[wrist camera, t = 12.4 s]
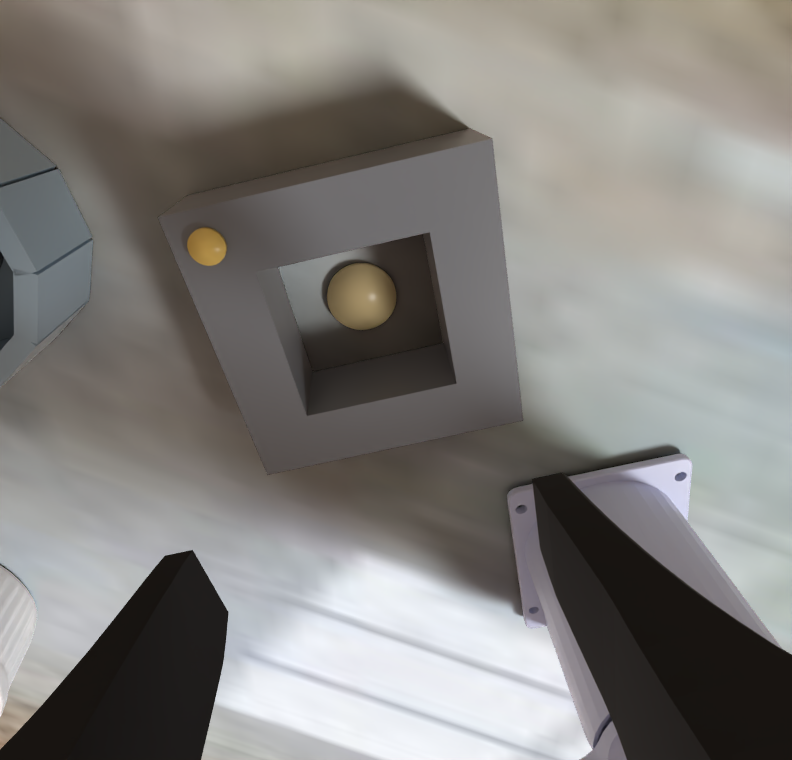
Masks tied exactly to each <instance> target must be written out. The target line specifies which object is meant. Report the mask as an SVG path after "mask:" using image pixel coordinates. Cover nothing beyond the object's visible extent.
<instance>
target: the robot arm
mask: <svg viewBox="0 0 792 760" xmlns="http://www.w3.org/2000/svg"><path fill="white" fill-rule="evenodd" d="M680 472H681V473H680ZM678 473H679V474H678ZM676 474H678V475H676ZM691 475H692V461H691V460H690V459H689V458H688V457H687V456H686V455H685V454H675V455H670V456H665V457H660V458H655V459H650V460H646V461H641V462H636V463H631V464H626V465H621V466H617V467H612V468H607V469H602V470H597V471H593V472H588V473H583V474H578V475H573V476H566V475H565V474H563V473H558V474H554V475H549V476H544V477H539V478H535V479H532V483H533V484H530V485H525V486H520V487H516V488H513V489H512V490H510V491H509V493H508V494H507V502H508V509H509V516H510V523H511V531H512V538H513V545H514V552H515V559H516V566H517V573H518V580H519V587H520V595H521V602H522V609H523V616H524V621H525V624H526V626H528V627H529V628H539V627H544V626H547V628H548V631H549V633H550V636H551V639H552V642H553V645H554V648H555V650H556V653H557V656H558V659H559V662H560V665H561V668H562V670H563V673H564V676H565V679H566V682H567V685H568V688H569V690H570V693H571V696H572V699H573V702H574V705H575V708H576V710H577V713H578V716H579V719H580V722H581V725H582V728H583V730H584V733H585V735H586V738H587V740H588V742H589V744H590V746H591V748H592V749H593V750H592V751H591V752H590V753H589V754H587V755H586V756H585V757H583V758H581V759H580V760H792V655H791V654H790V653H788V652H786V651H785V650H783V649H782V648H781V646H780V645H779V644H778V642H777V641H776V640H775V638H774V637H773V635H772V634H771V633H770V631H769V630H768V629H767V627H766V626H765V625H764V623H763V622H762V621H761V619H760V618H759V617H758V615H757V614H756V613H755V611H754V610H753V609H752V607H751V606H750V605H749V603H748V602H747V601H746V599H745V598H744V597H743V595H742V594H741V593H740V591H739V590H738V589H737V587H736V586H735V585H734V583H733V582H732V581H731V579H730V578H729V577H728V575H727V574H726V573H725V571H724V570H723V569H722V567H721V566H720V565H719V563H718V562H717V560H716V559H715V558H714V556H713V555H712V554H711V552H710V551H709V550H708V548H707V547H706V546H705V544H704V543H703V542H702V540H701V539H700V538H699V536H698V535H697V534H696V532H695V531H694V530H693V528H692V527H691V526H690V524H689V523H688V522H687V520H688V509H689V497H690V486H691ZM520 505H523V506H522V507H520V508H517V506H520ZM227 622H228V611H227V609H226V607H225V606H224V604H223V602H222V600H221V599H220V597H219V595H218V593H217V592H216V590H215V588H214V586H213V585H212V583H211V581H210V579H209V578H208V576H207V574H206V573H205V571H204V569H203V567H202V566H201V564H200V562H199V560H198V559H197V557H196V555H195V553H194V552H193V550H191V551H186V552H181V553H176V554H172V555H167V556H164V558H163V559H162V560H161V561H160V562H159V564H158V565H157V566H156V567H155V568H154V570H153V571H152V572H151V573H150V574H149V576H148V577H147V578H146V579H145V581H144V582H143V583H142V585H141V586H140V587H139V588H138V590H137V591H136V592H135V593H134V595H133V596H132V597H131V599H130V600H129V601H128V602H127V604H126V605H125V606H124V607H123V609H122V610H121V611H120V612H119V614H118V615H117V616H116V617H115V619H114V620H113V621H112V622H111V624H110V625H109V626H108V627H107V629H106V630H105V631H104V632H103V634H102V635H101V636H100V637H99V639H98V640H97V641H96V642H95V644H94V645H93V646H92V647H91V649H90V650H89V651H88V652H87V653H86V655H85V656H84V657H83V658H82V659H81V660H80V662H79V663H78V664H77V665H76V666H75V667H74V669H73V670H72V671H71V672H70V673H69V674H68V676H67V677H66V678H65V679H64V680H63V681H62V683H61V684H60V685H59V686H58V687H57V688H56V690H55V691H54V692H53V693H52V694H51V695H50V697H49V698H48V699H47V700H46V701H45V702H44V704H43V705H42V706H41V707H40V708H39V709H38V710H37V711H36V712H35V714H34V715H33V716H32V717H31V718H30V719H29V720H28V721H27V722H26V723H25V724H24V725H23V726H22V728H21V729H20V730H19V731H18V732H17V733H16V734H15V735H14V736H13V737H12V738H11V739H10V740H9V741H8V742H7V743H6V744H5V745H4V746H3V747H2V748H1V749H0V760H201V757H202V753H203V749H204V744H205V740H206V736H207V731H208V727H209V723H210V719H211V714H212V710H213V706H214V702H215V697H216V693H217V688H218V684H219V679H220V675H221V670H222V666H223V660H224V651H225V643H226V633H227Z"/></svg>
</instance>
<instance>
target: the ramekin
mask: <svg viewBox="0 0 792 760" xmlns="http://www.w3.org/2000/svg"><path fill="white" fill-rule="evenodd" d="M36 623H37V609H36V605H35V602H34V600H33V597H32V596H31V594H30V593H29V591H28V590H27V589H26V587H25V586H24V585H23V584H22V583H21V581H20V580H19V579H18V578H16V577H15V576H14V575H13V574H12V573H11V572H9V571H8V570H7V569H5V568H4V567H2V566H1V565H0V717H1V714H2V712H3V709H4V707H5V704H6V701H7V697H8V690H9V688H10V685H11V683H12V681H13V679H14V677H15V675H16V673H17V671H18V668H19V666H20V664H21V662H22V660H23V658H24V656H25V654H26V652H27V650H28V648H29V645H30V643H31V640H32V637H33V635H34V631H35V627H36Z"/></svg>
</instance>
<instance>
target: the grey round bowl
mask: <svg viewBox="0 0 792 760" xmlns="http://www.w3.org/2000/svg"><path fill="white" fill-rule="evenodd" d="M55 167H56V165H55V164H54V163H52V162H51V161H50V160H49V159H48V158H47V157H45V156H44V155H43V154H42V153H41V152H40V151H38V150H37V149H36V148H35V147H34V146H33V145H31V144H30V143H29V142H28V141H27V140H25V139H24V138H23V137H22V136H21V135H20V134H18V133H17V132H16V131H15V130H14V129H13V128H11V127H10V126H9V125H8V124H7V123H5V122H4V121H3V120H2V119H1V118H0V251H1V253H2V254H3V256H4V260H3V264H2V266H1V269H0V388H1V387H2V386H3V385H4V384H5V383H6V382H7V381H8V380H10V379H11V378H12V377H13V376H14V375H15V374H16V373H17V372H19V371H20V370H21V369H22V368H23V367H24V366H25V365H26V364H27V363H29V362H30V361H31V360H32V359H33V358H34V357H35V356H36V355H38V354H39V353H40V352H41V351H42V350H43V349H44V348H45V347H47V346H48V345H49V344H50V343H51V342H52V341H53V340H54V339H55V338H56V337H57V336H58V335H59V334H60V333H61V331H62V330H63V329H64V328H65V327H66V326H67V325H68V324H69V322H70V321H71V320H72V319H73V318H74V317H75V316H76V315H77V314H78V312H79V311H80V310H81V309H82V308H83V307H84V306H85V305H86V304H87V302H88V300H89V299H90V284H91V267H92V250H93V240H92V239H90V238H91V237H92V235H91V233H90V231H89V229H88V227H87V225H86V223H85V221H84V219H83V217H82V215H81V213H80V211H79V209H78V207H77V205H76V203H75V201H74V199H73V197H72V195H71V193H70V191H69V189H68V187H67V185H66V183H65V180H64V178H63V176H62V174H61V172H60V170H59V169H56V170H53V169H54V168H55Z"/></svg>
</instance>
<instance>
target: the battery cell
mask: <svg viewBox="0 0 792 760" xmlns="http://www.w3.org/2000/svg"><path fill="white" fill-rule="evenodd" d="M3 260H4V256H3V254H2V253H1V251H0V269H1V266H2V264H3Z"/></svg>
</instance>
